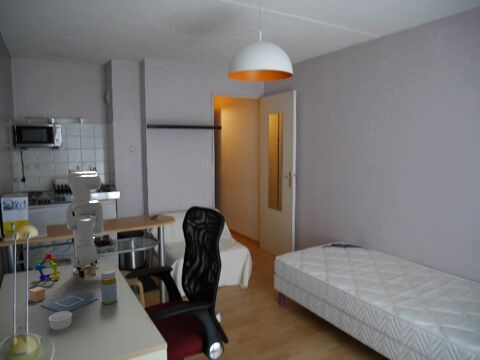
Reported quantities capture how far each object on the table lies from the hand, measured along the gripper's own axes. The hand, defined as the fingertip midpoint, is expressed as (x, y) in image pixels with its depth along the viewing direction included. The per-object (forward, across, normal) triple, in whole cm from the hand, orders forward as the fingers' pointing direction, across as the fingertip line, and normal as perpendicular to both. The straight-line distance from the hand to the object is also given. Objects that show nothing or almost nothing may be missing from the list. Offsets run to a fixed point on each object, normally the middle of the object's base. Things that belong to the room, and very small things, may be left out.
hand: (87, 275), depth 188 cm
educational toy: (+9, +1, -33) cm, 34 cm away
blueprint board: (+7, +15, +6) cm, 18 cm away
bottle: (+7, +5, +22) cm, 24 cm away
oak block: (+1, 0, 0) cm, 1 cm away
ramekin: (+7, +31, +23) cm, 39 cm away
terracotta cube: (+8, +20, -12) cm, 24 cm away
